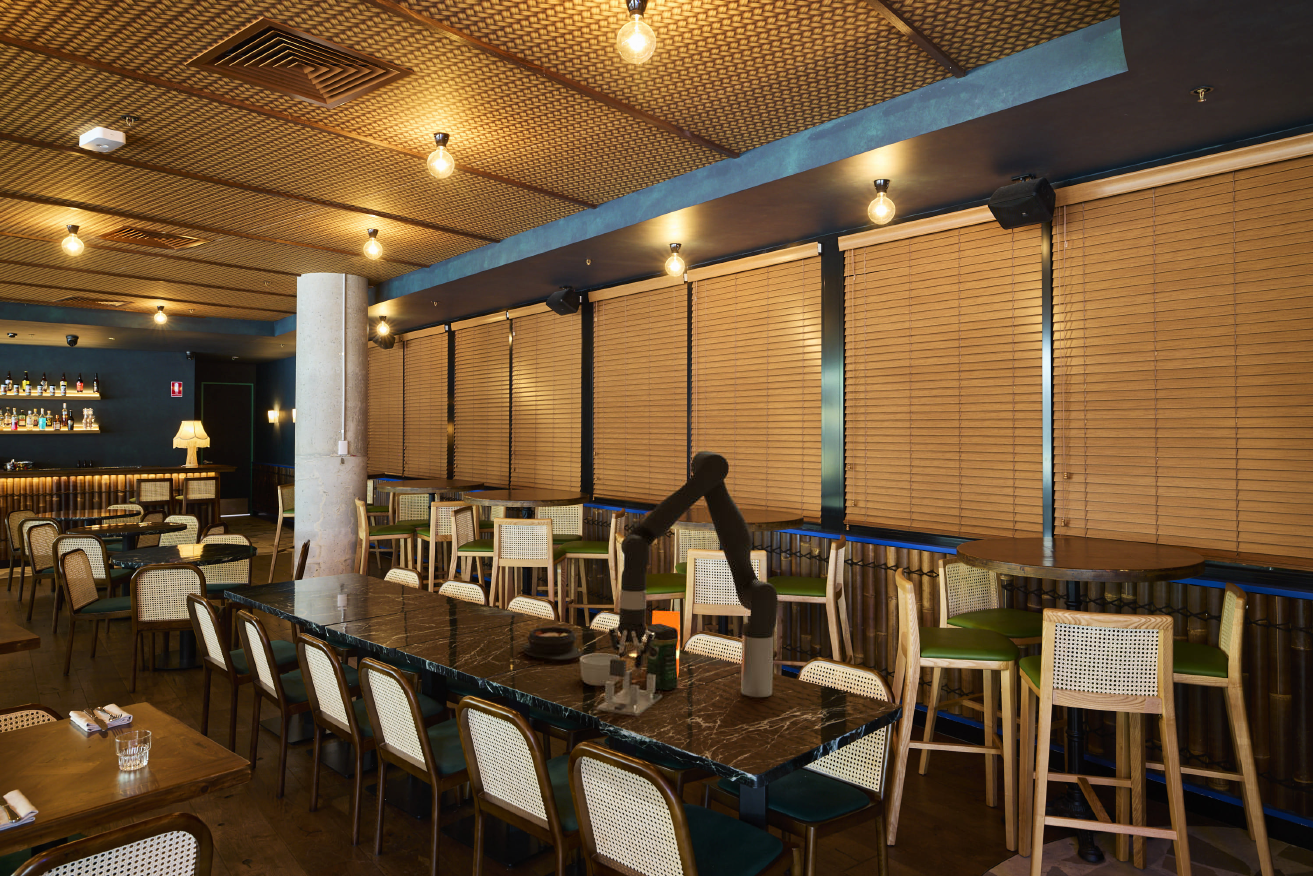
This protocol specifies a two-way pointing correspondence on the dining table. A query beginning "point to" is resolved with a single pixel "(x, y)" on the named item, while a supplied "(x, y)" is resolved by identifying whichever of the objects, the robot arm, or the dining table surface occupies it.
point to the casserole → (552, 644)
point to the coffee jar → (663, 656)
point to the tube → (625, 663)
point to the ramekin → (597, 668)
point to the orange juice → (669, 620)
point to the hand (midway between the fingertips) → (630, 666)
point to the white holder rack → (629, 697)
